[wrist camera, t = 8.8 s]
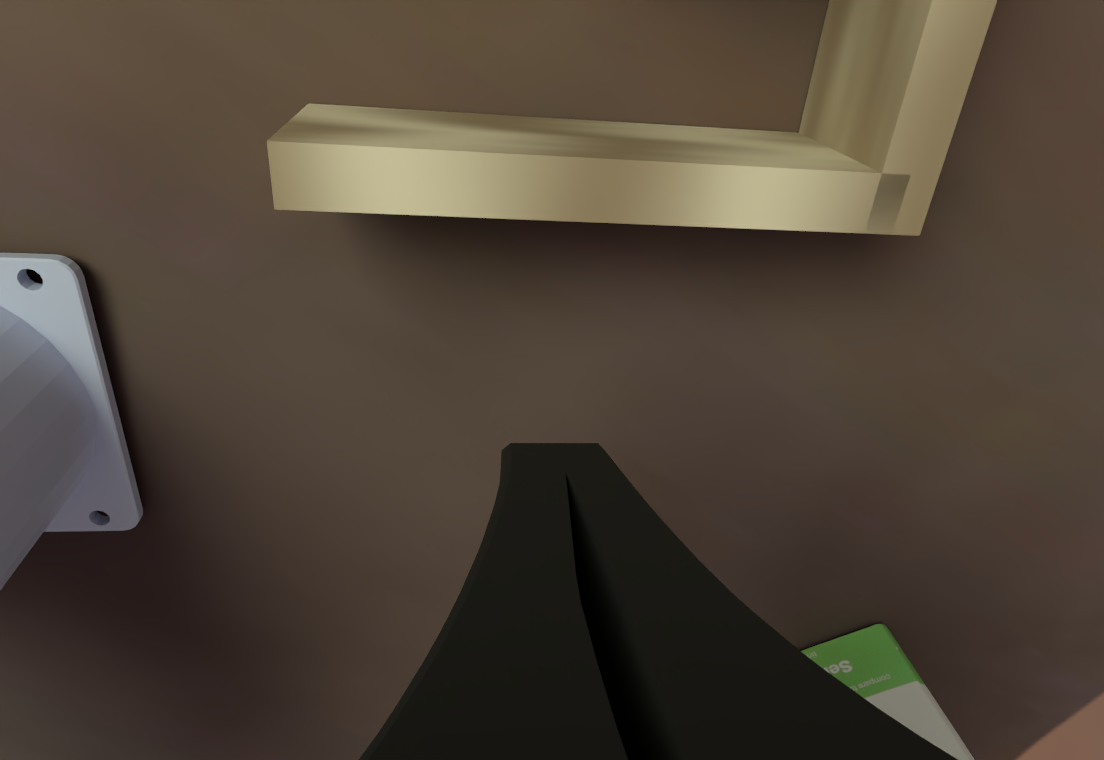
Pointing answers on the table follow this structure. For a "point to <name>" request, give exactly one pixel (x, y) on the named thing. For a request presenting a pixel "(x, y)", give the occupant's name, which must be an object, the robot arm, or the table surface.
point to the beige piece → (672, 145)
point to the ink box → (888, 683)
